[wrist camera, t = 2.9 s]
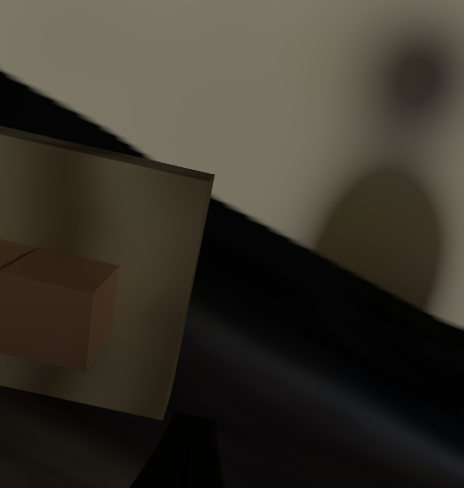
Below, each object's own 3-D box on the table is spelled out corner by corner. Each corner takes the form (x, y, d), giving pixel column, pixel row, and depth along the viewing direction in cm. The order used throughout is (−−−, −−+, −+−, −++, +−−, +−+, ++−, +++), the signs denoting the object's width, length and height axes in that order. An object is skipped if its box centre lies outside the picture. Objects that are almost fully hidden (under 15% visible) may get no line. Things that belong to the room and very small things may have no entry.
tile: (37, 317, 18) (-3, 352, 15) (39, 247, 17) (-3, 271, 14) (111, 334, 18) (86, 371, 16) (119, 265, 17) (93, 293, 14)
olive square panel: (-43, 342, 22) (-79, 368, 20) (-54, 113, 18) (-101, 111, 15) (172, 389, 22) (162, 420, 20) (214, 174, 18) (208, 181, 16)
